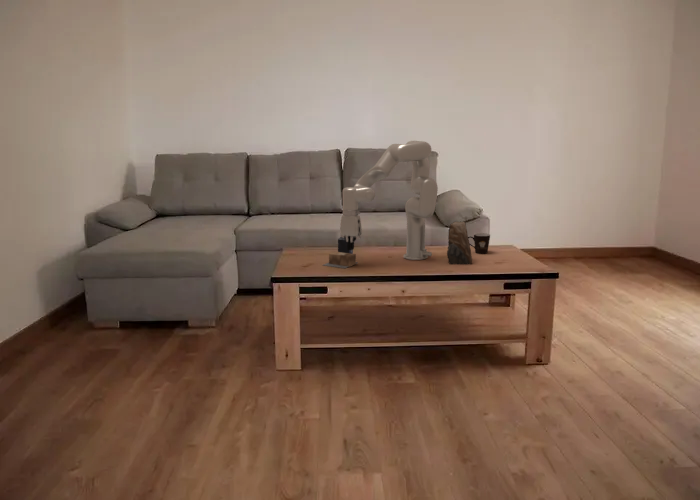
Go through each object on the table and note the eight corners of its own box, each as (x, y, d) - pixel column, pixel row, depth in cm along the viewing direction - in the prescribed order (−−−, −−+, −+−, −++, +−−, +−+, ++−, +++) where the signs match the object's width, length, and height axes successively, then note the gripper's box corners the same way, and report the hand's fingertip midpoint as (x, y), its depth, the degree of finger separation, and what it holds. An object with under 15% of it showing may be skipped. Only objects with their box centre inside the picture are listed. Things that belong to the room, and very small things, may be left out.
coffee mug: (491, 252, 317) (492, 233, 315) (486, 255, 310) (487, 236, 308) (471, 249, 323) (471, 231, 321) (465, 252, 316) (466, 234, 314)
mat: (358, 262, 296) (358, 262, 296) (344, 268, 285) (344, 267, 285) (336, 260, 303) (336, 259, 303) (322, 265, 292) (322, 264, 292)
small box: (349, 259, 304) (349, 239, 301) (337, 258, 305) (337, 239, 303) (353, 254, 314) (353, 235, 312) (341, 254, 315) (341, 235, 313)
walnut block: (355, 253, 292) (335, 251, 298) (349, 256, 287) (328, 253, 293) (355, 263, 293) (335, 261, 299) (349, 266, 288) (329, 263, 294)
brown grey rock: (447, 264, 291) (448, 225, 287) (443, 258, 303) (444, 220, 299) (472, 264, 291) (474, 224, 287) (467, 258, 303) (469, 220, 299)
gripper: (367, 213, 285) (367, 249, 289) (341, 210, 292) (341, 246, 296) (359, 215, 278) (360, 252, 282) (333, 212, 286) (333, 249, 290)
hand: (350, 249), depth 289 cm, fingers closed
